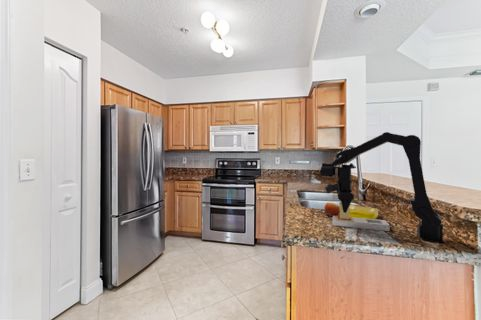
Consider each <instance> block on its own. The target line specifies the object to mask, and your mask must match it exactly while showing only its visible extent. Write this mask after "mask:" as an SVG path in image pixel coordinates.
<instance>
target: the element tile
mask: <svg viewBox="0 0 481 320" xmlns="http://www.w3.org/2000/svg"><path fill="white" fill-rule="evenodd" d="M350 217H353V218H364V219H376V220H378V217H379V209H378V208H375V207H370V206H369V207H367V206H359V205H351V204H350Z"/></svg>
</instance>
